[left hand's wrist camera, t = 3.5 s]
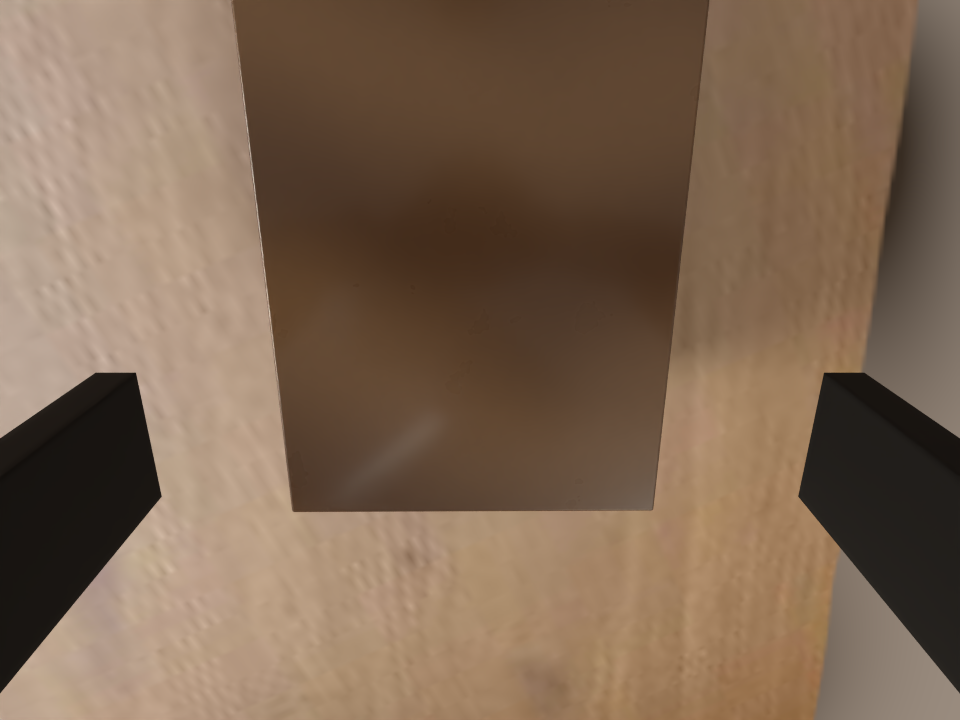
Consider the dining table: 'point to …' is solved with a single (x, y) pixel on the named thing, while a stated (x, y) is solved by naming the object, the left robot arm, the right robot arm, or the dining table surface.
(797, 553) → the dining table surface
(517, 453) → the cabinet
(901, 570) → the left robot arm
